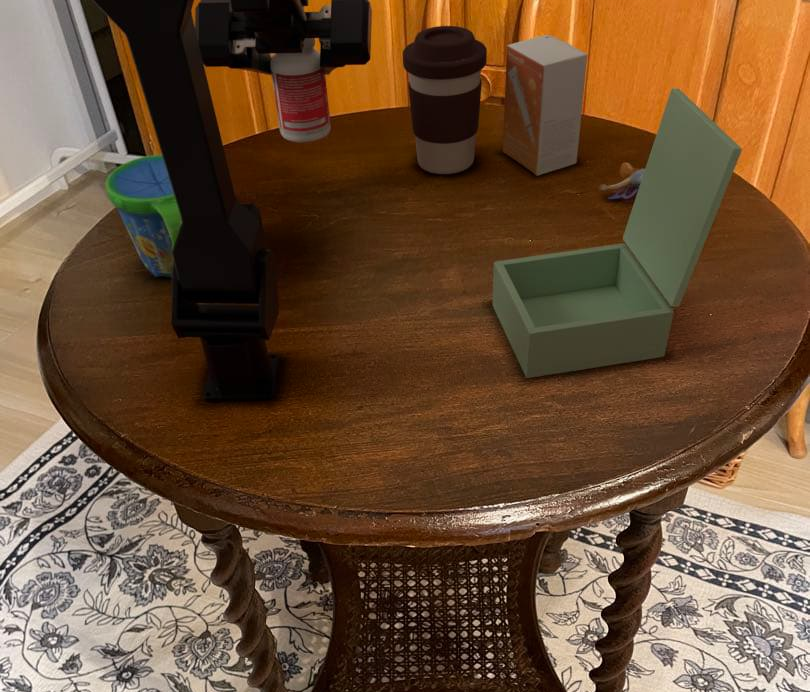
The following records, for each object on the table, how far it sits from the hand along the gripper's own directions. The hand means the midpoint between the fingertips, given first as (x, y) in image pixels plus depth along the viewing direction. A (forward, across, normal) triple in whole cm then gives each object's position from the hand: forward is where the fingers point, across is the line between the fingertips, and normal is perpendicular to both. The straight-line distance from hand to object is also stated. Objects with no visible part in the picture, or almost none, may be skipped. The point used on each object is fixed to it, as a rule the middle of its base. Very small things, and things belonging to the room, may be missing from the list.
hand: (300, 70), depth 100 cm
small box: (+14, -28, +5) cm, 32 cm away
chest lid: (-21, -39, +22) cm, 49 cm away
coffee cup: (+13, -16, +6) cm, 22 cm away
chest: (-13, -32, +32) cm, 47 cm away
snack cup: (-5, +12, +24) cm, 27 cm away
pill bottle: (+4, 0, +6) cm, 7 cm away
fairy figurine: (+5, -42, +14) cm, 44 cm away
